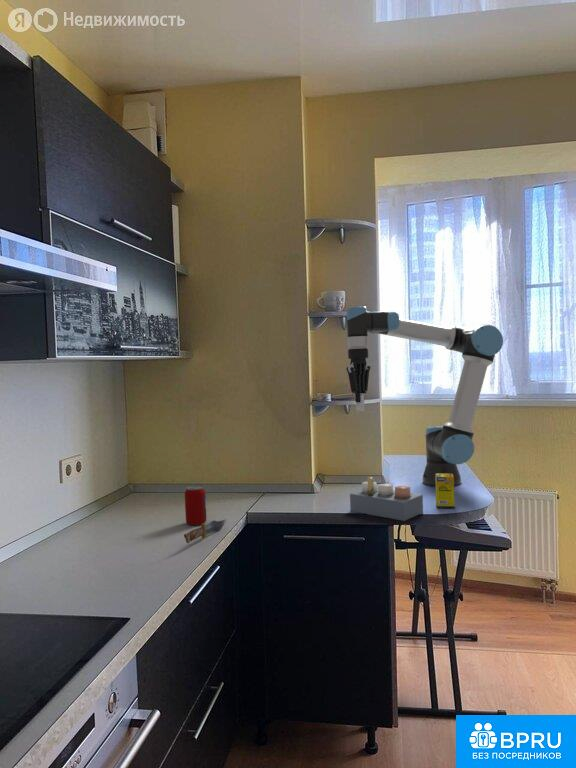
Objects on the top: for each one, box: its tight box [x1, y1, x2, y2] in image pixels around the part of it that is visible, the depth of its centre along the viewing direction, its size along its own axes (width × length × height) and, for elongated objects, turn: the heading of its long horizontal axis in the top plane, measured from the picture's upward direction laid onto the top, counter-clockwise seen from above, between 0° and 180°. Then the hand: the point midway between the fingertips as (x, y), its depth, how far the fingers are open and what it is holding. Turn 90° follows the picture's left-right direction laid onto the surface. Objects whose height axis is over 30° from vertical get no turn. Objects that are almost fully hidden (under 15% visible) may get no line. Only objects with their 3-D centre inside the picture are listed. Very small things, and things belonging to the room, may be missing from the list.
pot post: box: [366, 476, 375, 496], centre depth 195 cm, size 2×2×6 cm
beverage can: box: [184, 485, 208, 526], centre depth 191 cm, size 7×7×12 cm
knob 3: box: [394, 485, 411, 499], centre depth 192 cm, size 5×5×8 cm
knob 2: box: [377, 483, 394, 496], centre depth 196 cm, size 5×5×8 cm
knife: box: [183, 518, 227, 544], centre depth 175 cm, size 25×1×5 cm, turn 158°
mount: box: [349, 487, 424, 522], centre depth 196 cm, size 12×21×6 cm, turn 48°
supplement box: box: [435, 474, 456, 509], centre depth 200 cm, size 6×6×11 cm
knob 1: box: [361, 481, 378, 493], centre depth 200 cm, size 5×5×8 cm
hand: (360, 410), depth 219 cm, fingers closed
